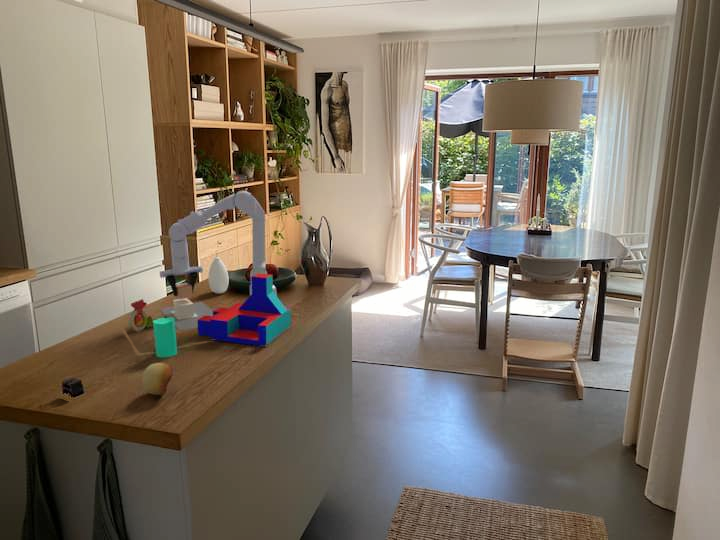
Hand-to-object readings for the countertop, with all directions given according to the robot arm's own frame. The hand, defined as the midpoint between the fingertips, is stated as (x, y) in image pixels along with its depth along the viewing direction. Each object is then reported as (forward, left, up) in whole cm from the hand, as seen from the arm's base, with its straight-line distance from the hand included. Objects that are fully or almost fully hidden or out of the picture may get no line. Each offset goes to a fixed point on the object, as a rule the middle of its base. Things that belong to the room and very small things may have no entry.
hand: (183, 294), depth 200 cm
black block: (+41, +51, -9) cm, 66 cm away
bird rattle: (+16, +9, -8) cm, 21 cm away
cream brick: (0, +1, -7) cm, 7 cm away
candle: (+14, +35, -8) cm, 39 cm away
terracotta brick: (0, 0, -1) cm, 1 cm away
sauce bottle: (-20, -21, -8) cm, 30 cm away
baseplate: (-2, +4, -8) cm, 9 cm away
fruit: (+22, +62, -8) cm, 66 cm away
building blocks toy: (-11, +30, -8) cm, 33 cm away
